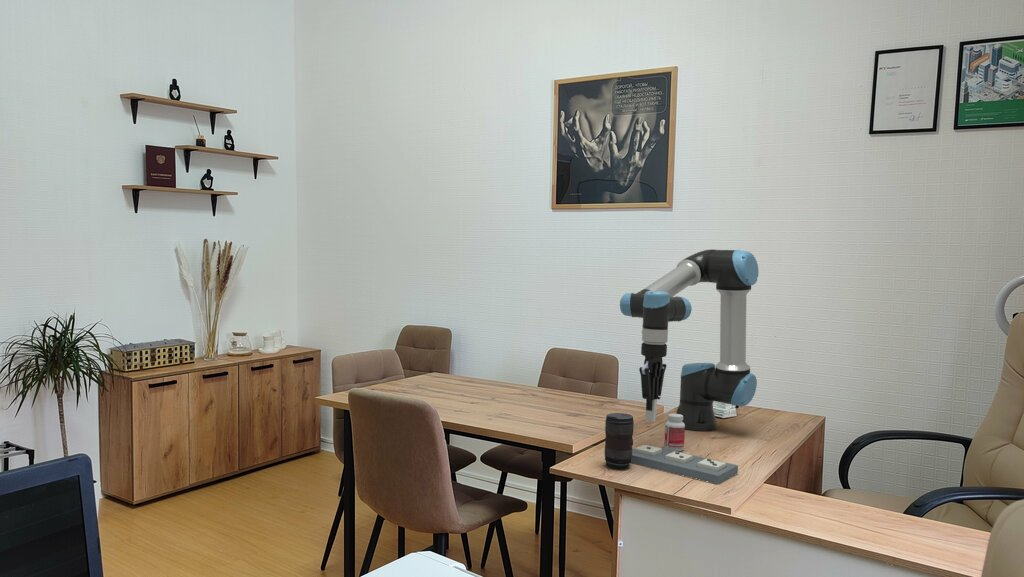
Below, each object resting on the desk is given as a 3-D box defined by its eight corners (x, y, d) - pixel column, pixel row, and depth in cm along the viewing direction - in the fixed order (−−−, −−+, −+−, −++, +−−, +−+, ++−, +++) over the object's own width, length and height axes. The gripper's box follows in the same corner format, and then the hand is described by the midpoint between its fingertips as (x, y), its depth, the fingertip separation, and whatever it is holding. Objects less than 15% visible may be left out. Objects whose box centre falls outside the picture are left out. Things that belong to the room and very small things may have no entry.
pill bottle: (687, 450, 231) (689, 416, 230) (674, 452, 227) (676, 418, 227) (673, 445, 236) (675, 412, 235) (659, 447, 233) (661, 413, 232)
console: (644, 451, 227) (645, 444, 227) (737, 473, 208) (738, 465, 208) (621, 460, 216) (622, 452, 216) (717, 484, 197) (718, 475, 197)
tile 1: (644, 455, 223) (644, 443, 222) (661, 459, 219) (662, 447, 219) (634, 459, 218) (635, 447, 218) (652, 463, 214) (653, 451, 214)
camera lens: (614, 460, 216) (617, 411, 215) (637, 467, 210) (639, 416, 209) (597, 465, 210) (600, 414, 209) (620, 472, 205) (622, 420, 204)
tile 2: (674, 462, 216) (674, 450, 216) (692, 467, 213) (693, 454, 212) (664, 466, 212) (665, 454, 212) (683, 471, 208) (684, 458, 208)
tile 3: (705, 470, 210) (706, 457, 210) (725, 474, 206) (726, 461, 206) (696, 474, 206) (697, 461, 205) (716, 479, 202) (717, 466, 202)
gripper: (653, 339, 224) (649, 415, 225) (632, 343, 214) (628, 421, 215) (675, 342, 219) (671, 419, 221) (655, 346, 209) (651, 426, 211)
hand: (650, 420), depth 218 cm, fingers closed
